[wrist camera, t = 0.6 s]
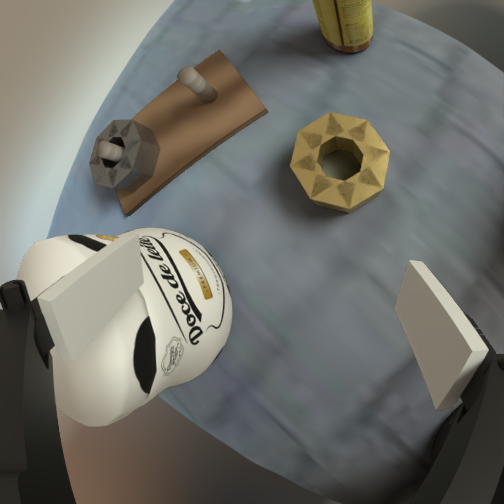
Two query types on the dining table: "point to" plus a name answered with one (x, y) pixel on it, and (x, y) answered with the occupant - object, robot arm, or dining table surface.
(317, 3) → the sauce bottle
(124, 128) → the steel gear
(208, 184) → the dining table surface
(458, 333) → the robot arm
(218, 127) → the gear board
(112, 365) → the milk container
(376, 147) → the brass gear
